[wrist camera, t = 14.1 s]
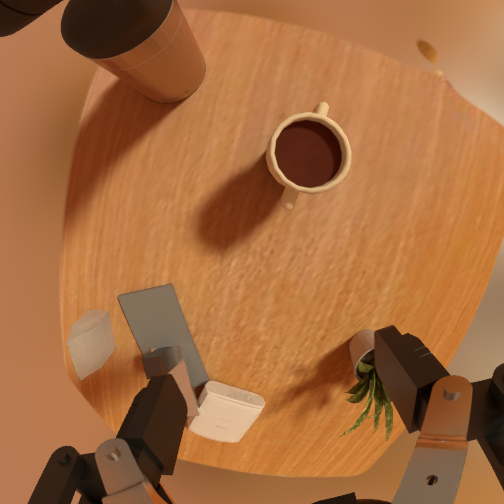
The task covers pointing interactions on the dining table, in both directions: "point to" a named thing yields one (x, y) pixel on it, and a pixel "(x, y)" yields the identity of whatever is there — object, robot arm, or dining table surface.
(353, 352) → the house plant
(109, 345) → the tea bag
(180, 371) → the grey l-shaped piece
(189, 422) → the photo printer
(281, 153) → the character mug
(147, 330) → the mat
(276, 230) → the dining table surface
